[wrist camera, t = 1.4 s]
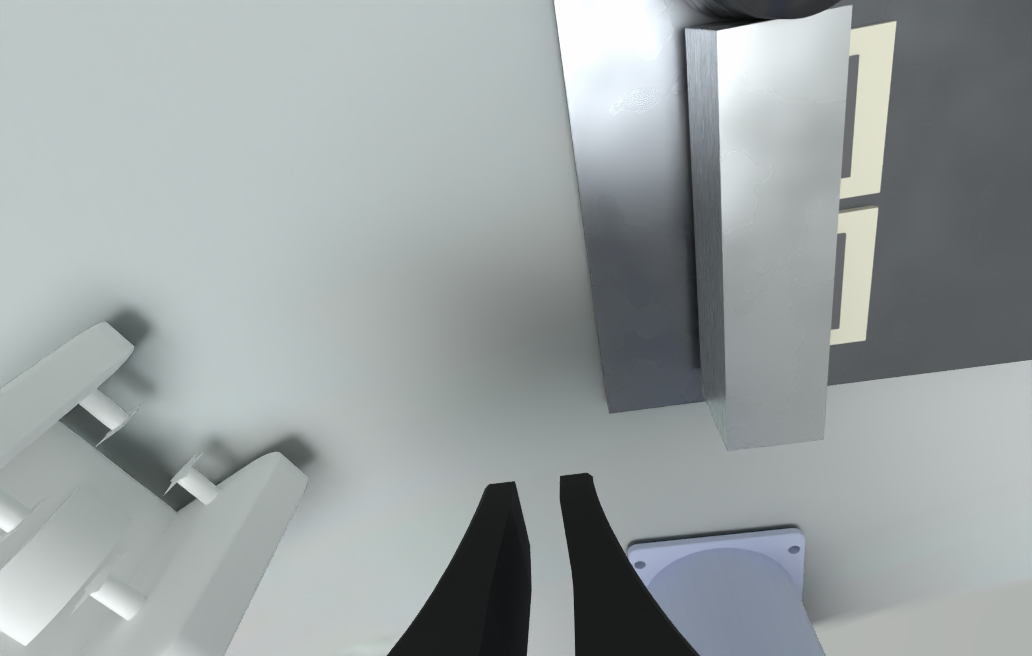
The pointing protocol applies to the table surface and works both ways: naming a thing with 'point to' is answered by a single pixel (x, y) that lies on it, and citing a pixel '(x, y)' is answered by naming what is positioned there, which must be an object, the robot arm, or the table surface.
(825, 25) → the bar
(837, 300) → the label
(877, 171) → the label
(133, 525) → the cable organizer
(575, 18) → the lid
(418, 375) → the table surface
